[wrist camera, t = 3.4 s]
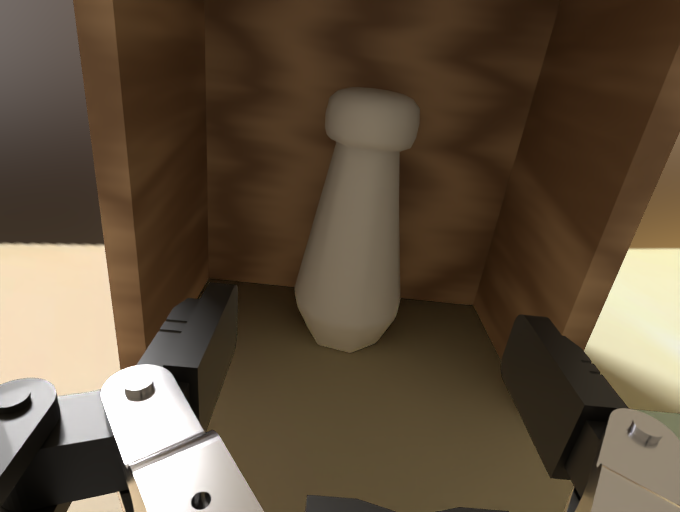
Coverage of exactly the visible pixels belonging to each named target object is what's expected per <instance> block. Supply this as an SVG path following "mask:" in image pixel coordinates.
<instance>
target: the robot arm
mask: <svg viewBox="0 0 680 512" xmlns="http://www.w3.org/2000/svg"><path fill="white" fill-rule="evenodd" d="M237 318H238V288H237V285H232V284H222V283H212V282H210V283H209V284H208V286H207V287H206V289H205V291H204V293H203V294H202V296H201V298H200V299H194V298H187V299H186V300H184V301H183V302H181V303H180V304H178V305H177V306H175V307H174V308H173V309H172V311H171V312H170V314H169V315H168V317H167V319H166V322H164V323H163V325H162V326H161V328H160V331H158V332H157V334H156V336H155V337H154V339H153V340H152V342H151V343H150V345H149V346H148V348H147V350H146V351H145V353H144V354H143V356H142V357H141V359H140V360H139V362H138V363H137V365H136V366H133V367H129V368H126V369H124V370H122V371H120V372H118V373H116V374H115V375H113V376H112V377H111V378H109V380H108V381H107V382H106V383H105V385H104V386H103V388H102V389H100V390H97V391H91V392H85V393H78V394H70V395H63V396H57V393H56V389H55V387H54V385H53V384H52V383H50V382H49V381H46V380H44V379H39V378H23V379H17V380H13V381H9V382H6V383H3V384H1V385H0V512H67V510H68V508H69V506H70V504H71V502H72V501H77V500H82V499H86V498H91V497H96V496H100V495H105V494H110V493H114V492H117V494H118V497H119V500H120V503H121V507H122V510H123V512H264V511H263V509H262V507H261V506H260V504H259V502H258V500H257V499H256V497H255V495H254V494H253V492H252V490H251V489H250V487H249V485H248V483H247V482H246V480H245V478H244V477H243V475H242V473H241V472H240V470H239V468H238V466H237V465H236V463H235V461H234V460H233V458H232V456H231V455H230V453H229V451H228V449H227V448H226V446H225V444H224V443H223V441H222V439H221V438H220V436H219V435H218V434H217V432H216V431H214V430H211V431H208V432H206V430H207V427H208V424H209V421H210V419H211V416H212V413H213V410H214V407H215V404H216V402H217V399H218V396H219V393H220V390H221V388H222V385H223V382H224V379H225V376H226V373H227V371H228V368H229V365H230V362H231V359H232V357H233V354H234V350H235V346H236V340H237ZM501 374H502V378H503V380H504V383H505V385H506V387H507V389H508V391H509V393H510V395H511V397H512V399H513V401H514V403H515V405H516V408H517V410H518V412H519V414H520V416H521V418H522V420H523V422H524V424H525V426H526V428H527V430H528V433H529V435H530V437H531V439H532V441H533V443H534V445H535V447H536V449H537V451H538V453H539V455H540V458H541V460H542V462H543V464H544V466H545V468H546V470H547V472H548V474H549V476H550V478H555V479H567V480H571V481H572V483H573V485H574V487H573V489H572V491H571V493H570V495H569V497H568V500H567V503H566V506H565V510H564V512H680V441H679V439H678V438H677V436H676V435H675V434H674V433H673V432H672V431H671V430H670V429H669V428H668V427H667V426H665V425H664V424H663V423H661V422H660V421H658V420H657V419H655V418H653V417H651V416H649V415H647V414H645V413H643V412H640V411H637V410H633V409H629V408H628V407H627V406H626V404H625V403H624V402H623V401H622V399H621V398H620V397H619V396H618V394H617V393H616V392H615V390H614V389H613V388H612V387H611V385H610V384H609V383H608V382H607V380H606V379H605V378H604V376H603V375H600V371H599V370H598V369H597V368H596V366H595V365H594V364H591V360H590V359H589V357H588V356H587V355H586V354H585V352H584V351H583V350H582V349H581V348H580V347H579V346H578V345H576V344H575V343H574V342H572V341H571V340H570V339H568V338H567V337H566V336H562V335H561V333H560V332H559V331H558V329H557V328H556V327H555V325H554V324H553V323H552V321H551V320H550V319H549V318H548V317H543V316H533V315H523V314H520V315H518V316H517V317H516V319H515V321H514V324H513V327H512V330H511V332H510V335H509V338H508V341H507V344H506V347H505V350H504V353H503V356H502V360H501ZM305 512H395V511H392V510H389V509H386V508H383V507H380V506H377V505H374V504H371V503H368V502H365V501H362V500H359V499H352V498H339V497H327V496H315V495H307V500H306V508H305ZM437 512H509V511H501V510H488V509H476V508H463V507H458V508H453V509H448V510H443V511H437Z"/></svg>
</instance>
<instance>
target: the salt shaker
mask: <svg viewBox="0 0 680 512" xmlns="http://www.w3.org/2000/svg"><path fill="white" fill-rule="evenodd" d="M419 124H420V108H419V107H418V105H417V104H416V102H415V101H414V99H412V98H410V97H408V96H406V95H404V94H401V93H397V92H392V91H388V90H382V89H375V88H363V87H350V88H345V89H341V90H338V91H337V92H335V93H334V94H333V95H332V96H331V97H330V98H329V101H328V105H327V109H326V113H325V129H326V134H327V135H328V136H329V137H330V139H332V140H334V141H336V145H335V148H334V152H333V155H332V159H331V162H330V166H329V169H328V173H327V176H326V180H325V183H324V186H323V190H322V193H321V197H320V200H319V204H318V207H317V211H316V214H315V218H314V221H313V225H312V228H311V232H310V235H309V239H308V242H307V245H306V249H305V252H304V256H303V259H302V263H301V266H300V270H299V273H298V277H297V280H296V284H295V287H294V288H295V297H296V301H297V305H298V309H299V311H300V313H301V315H302V317H303V319H304V321H305V323H306V326H307V328H308V329H309V331H310V332H311V334H312V336H313V337H314V339H315V341H316V342H317V344H318V345H321V346H325V347H329V348H333V349H336V350H340V351H344V352H348V353H352V352H355V351H357V350H360V349H362V348H365V347H367V346H370V345H372V344H375V343H376V342H377V341H378V340H379V339H380V337H381V336H382V335H383V333H384V332H385V331H386V330H387V328H388V327H389V326H390V324H391V323H392V322H393V321H394V319H395V317H396V314H397V312H398V308H399V303H400V237H399V158H400V152H401V151H404V150H407V149H410V148H411V147H412V145H413V143H414V141H415V139H416V136H417V132H418V128H419Z"/></svg>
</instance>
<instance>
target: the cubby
mask: <svg viewBox="0 0 680 512" xmlns="http://www.w3.org/2000/svg"><path fill="white" fill-rule="evenodd" d="M73 2H74V11H75V18H76V26H77V34H78V42H79V50H80V57H81V65H82V72H83V80H84V89H85V96H86V104H87V112H88V119H89V127H90V135H91V143H92V151H93V159H94V166H95V174H96V182H97V190H98V198H99V205H100V213H101V221H102V228H103V236H104V244H105V252H106V260H107V268H108V275H109V283H110V291H111V299H112V306H113V314H114V322H115V330H116V338H117V345H118V353H119V361H120V369H121V371H122V370H124V369H126V368H129V367H133V366H136V365H137V363H138V362H139V360H140V359H141V357H142V356H143V354H144V353H145V351H146V350H147V348H148V346H149V345H150V343H151V342H152V340H153V339H154V337H155V336H156V334H157V332H158V331H160V328H161V326H162V325H163V323H164V322H166V319H167V317H168V315H169V314H170V312H171V311H172V309H173V308H174V307H175V306H177V305H178V304H180V303H181V302H183V301H184V300H186V299H187V298H194V299H197V298H198V296H199V295H200V293H201V291H202V289H203V288H204V286H205V284H206V282H207V281H208V279H209V278H211V279H221V280H230V281H240V282H250V283H260V284H269V285H279V286H289V287H295V284H296V280H297V277H298V273H299V270H300V266H301V263H302V259H303V256H304V252H305V249H306V245H307V242H308V239H309V235H310V232H311V228H312V225H313V221H314V218H315V214H316V211H317V207H318V204H319V200H320V197H321V193H322V190H323V186H324V183H325V180H326V176H327V173H328V169H329V166H330V162H331V159H332V155H333V152H334V148H335V145H336V141H334V140H332V139H330V137H329V136H328V135H327V134H326V129H325V113H326V109H327V105H328V101H329V98H330V97H331V96H332V95H333V94H334V93H335V92H337V91H338V90H341V89H345V88H350V87H363V88H375V89H382V90H388V91H392V92H397V93H401V94H404V95H406V96H408V97H410V98H412V99H414V101H415V102H416V104H417V105H418V107H419V108H420V124H419V128H418V132H417V136H416V139H415V141H414V143H413V145H412V147H411V148H410V149H407V150H404V151H401V152H400V158H399V237H400V298H405V299H415V300H425V301H434V302H444V303H454V304H464V305H473V306H474V308H475V310H476V312H477V314H478V316H479V318H480V320H481V322H482V324H483V326H484V328H485V330H486V332H487V334H488V336H489V338H490V340H491V342H492V344H493V346H494V348H495V350H496V352H497V354H498V356H499V358H500V360H502V356H503V353H504V350H505V347H506V344H507V341H508V338H509V335H510V332H511V330H512V327H513V324H514V321H515V319H516V317H517V316H518V315H520V314H523V315H533V316H543V317H548V318H549V319H550V320H551V321H552V323H553V324H554V325H555V327H556V328H557V329H558V331H559V332H560V333H561V335H562V336H566V337H567V338H568V339H570V340H571V341H572V342H574V343H575V344H576V345H578V346H579V347H580V348H581V349H582V350H583V351H584V349H585V347H586V345H587V342H588V340H589V338H590V335H591V333H592V331H593V329H594V326H595V324H596V322H597V319H598V317H599V315H600V313H601V310H602V308H603V306H604V303H605V301H606V299H607V297H608V294H609V292H610V290H611V287H612V285H613V283H614V281H615V278H616V276H617V274H618V272H619V269H620V267H621V265H622V262H623V260H624V258H625V256H626V253H627V251H628V249H629V246H630V244H631V242H632V239H633V237H634V235H635V232H636V230H637V228H638V226H639V224H640V221H641V219H642V217H643V214H644V212H645V210H646V208H647V205H648V203H649V201H650V198H651V196H652V194H653V192H654V189H655V187H656V185H657V183H658V180H659V178H660V176H661V173H662V171H663V169H664V167H665V164H666V162H667V160H668V157H669V155H670V153H671V150H672V148H673V146H674V144H675V141H676V139H677V137H678V135H679V132H680V0H73Z"/></svg>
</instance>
